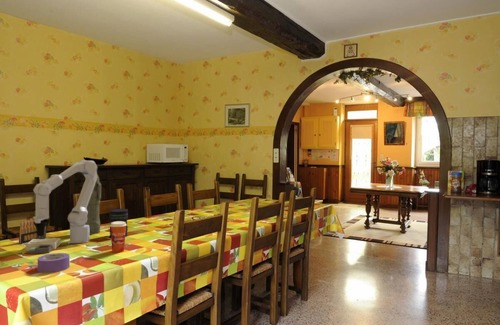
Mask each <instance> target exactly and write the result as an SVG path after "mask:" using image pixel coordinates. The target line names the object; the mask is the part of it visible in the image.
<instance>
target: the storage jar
mask: <svg viewBox="0 0 500 325" xmlns="http://www.w3.org/2000/svg"><path fill="white" fill-rule="evenodd" d="M128 212H129V210H128V208H113V209H110V210H109V221H110V224H109V237H110V238H111V226H110V225H111V223H112V222H117V221H123V222H125V223H126V224H127V225H126V232H125V238H126V237H127V236H128V233H129V232H128V231H129V230H128V227H129V226H128V219H129V213H128Z"/></svg>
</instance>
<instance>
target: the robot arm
mask: <svg viewBox="0 0 500 325" xmlns="http://www.w3.org/2000/svg"><path fill="white" fill-rule="evenodd" d="M76 173H81V174H82V175H83V176H84V178H85V179H86V180H85V179H84V180H85V181H84V182H83V184H84V185H82V187H81V188H82V189H81V191H80V194H79V196H78V200H77V202H76V205H75V206H74V207H73V208H72V209H71V211H70V213H69V214H68V215H67V221H68V222H69V241H68V242H67V244H83V243H88V242H89V241H90V237H91V234H90V228H89V225H85V223H86V222H87V214H88V211H87V206H88V203H89V200H90V197H91V194H92V191H93V189H94V186H95V183H96V180H97V175H98V165H97V164H96V162H95V161H94V160H86V159H85V160H84V159H82V160H81V159H80V160H78V161H77V162H75V163H74V164H73V165H71V166H70V167H68V168H67V169H65V170H63V172H61V173H60V174H55V173H54V174H52V175H50V177H49V178H48V179H45V180H42V182H41V183H37V184H36V185H35V186H34V188H33V193H34V194H35V216H33V217H32V219H35V222H34V225H35V227H36V229H37V232H38V236H44V231H45V226H46V232H47V231H48V227H49V224H50V222H51V219H50V206H49V205H50V203H49V202H50V194H51V192H52V191H53V190H55V189H56V188H58V187H59V186H61V185H62V184H64V180H66V179H68V178H70V177H71V176H72V175H74V174H76Z"/></svg>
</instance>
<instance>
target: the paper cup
mask: <svg viewBox="0 0 500 325" xmlns="http://www.w3.org/2000/svg"><path fill="white" fill-rule="evenodd" d="M126 225H127V226H128V223H127V224H126V223H125V222H123V221H117V222H112V223H111V225H110V224H109V227H110V226H111V237H110V239H111V251H112V252H113V253H123V252H124V251H125V247H126V246H125V245H126V244H125V243H126V237H125V232H126Z"/></svg>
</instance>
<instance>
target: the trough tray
mask: <svg viewBox="0 0 500 325" xmlns="http://www.w3.org/2000/svg"><path fill="white" fill-rule="evenodd" d="M61 239H62V238H60V237H57V238H56V237H55V238H46V239H32V240H31V241H30V242H28V243H25V251H29V249H30V248H31V247H38V246H39V245H52V250H56V249H57V248H58V247H59V246H60V245H61V242H62V240H61Z"/></svg>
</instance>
